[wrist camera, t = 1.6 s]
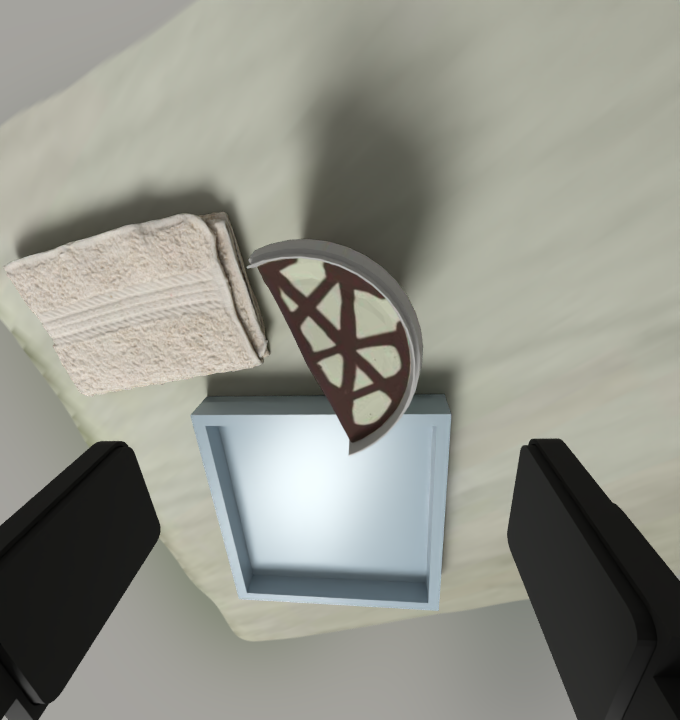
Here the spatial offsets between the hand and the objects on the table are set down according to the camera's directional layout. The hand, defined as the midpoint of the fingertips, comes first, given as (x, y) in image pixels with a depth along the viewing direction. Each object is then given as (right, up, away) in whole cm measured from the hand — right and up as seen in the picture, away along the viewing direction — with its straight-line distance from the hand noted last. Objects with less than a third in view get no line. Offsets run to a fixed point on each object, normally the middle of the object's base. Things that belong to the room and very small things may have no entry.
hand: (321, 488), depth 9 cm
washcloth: (-14, +7, +20) cm, 26 cm away
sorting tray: (0, -10, +26) cm, 27 cm away
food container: (+2, +8, +18) cm, 20 cm away
